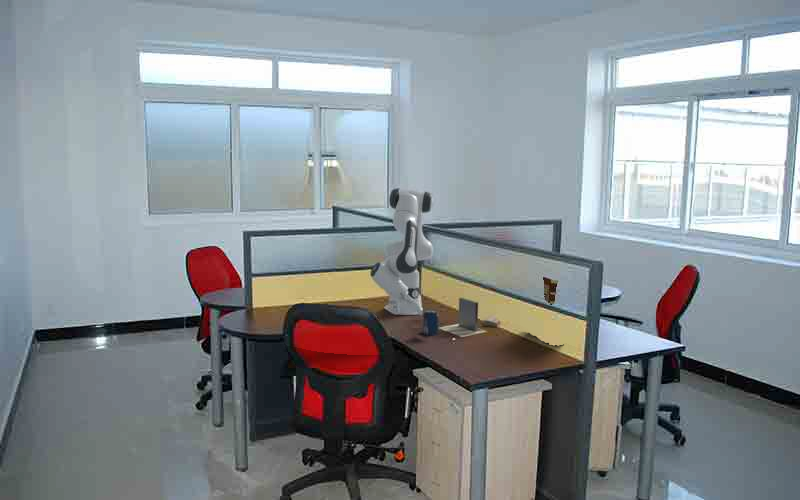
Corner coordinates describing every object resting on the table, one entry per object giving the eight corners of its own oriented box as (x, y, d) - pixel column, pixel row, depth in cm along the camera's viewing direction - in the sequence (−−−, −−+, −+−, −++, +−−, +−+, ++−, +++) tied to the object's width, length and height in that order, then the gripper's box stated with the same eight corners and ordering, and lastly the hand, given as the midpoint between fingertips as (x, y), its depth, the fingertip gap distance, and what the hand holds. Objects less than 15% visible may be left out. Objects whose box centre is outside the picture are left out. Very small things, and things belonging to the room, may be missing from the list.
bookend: (458, 326, 307) (459, 297, 305) (465, 324, 309) (466, 296, 307) (474, 331, 297) (475, 302, 295) (482, 330, 300) (482, 301, 298)
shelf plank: (437, 330, 304) (437, 327, 303) (463, 325, 313) (463, 323, 312) (461, 340, 289) (461, 336, 289) (487, 334, 298) (487, 331, 298)
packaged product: (489, 311, 323) (508, 314, 319) (488, 321, 324) (507, 323, 320) (478, 320, 307) (498, 322, 303) (478, 329, 308) (498, 332, 304)
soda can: (439, 334, 298) (439, 309, 296) (436, 338, 291) (436, 313, 289) (424, 333, 299) (425, 308, 298) (421, 337, 293) (422, 312, 291)
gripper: (409, 291, 278) (430, 311, 282) (397, 282, 298) (417, 301, 302) (399, 301, 278) (420, 322, 282) (388, 291, 297) (408, 311, 301)
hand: (418, 311), depth 292 cm, fingers open, 8 cm apart
